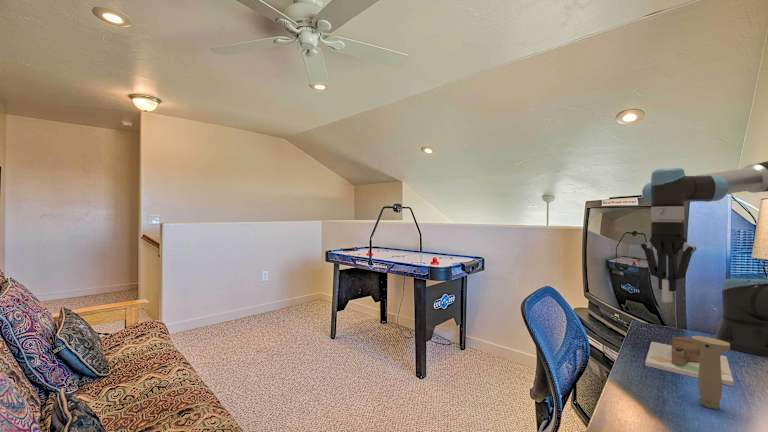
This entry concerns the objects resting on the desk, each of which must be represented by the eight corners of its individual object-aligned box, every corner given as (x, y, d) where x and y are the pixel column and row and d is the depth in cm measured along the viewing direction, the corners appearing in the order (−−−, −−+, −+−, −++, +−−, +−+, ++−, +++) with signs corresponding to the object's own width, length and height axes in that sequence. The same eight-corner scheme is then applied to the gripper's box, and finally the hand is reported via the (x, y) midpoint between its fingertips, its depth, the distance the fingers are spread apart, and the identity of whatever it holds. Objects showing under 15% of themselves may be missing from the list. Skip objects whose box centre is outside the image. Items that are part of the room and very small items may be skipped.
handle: (726, 416, 75) (726, 347, 75) (687, 402, 80) (688, 338, 80) (731, 409, 77) (732, 342, 77) (694, 396, 83) (695, 334, 83)
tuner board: (726, 360, 104) (726, 356, 104) (733, 386, 88) (733, 381, 88) (651, 345, 116) (651, 341, 116) (645, 365, 100) (645, 361, 100)
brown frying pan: (675, 350, 108) (675, 335, 108) (705, 358, 102) (705, 342, 102) (661, 360, 100) (662, 344, 100) (693, 369, 95) (693, 352, 95)
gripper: (635, 221, 105) (635, 298, 105) (689, 221, 93) (689, 308, 93) (648, 221, 108) (648, 295, 108) (701, 221, 97) (701, 305, 97)
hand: (667, 301), depth 101 cm, fingers closed
